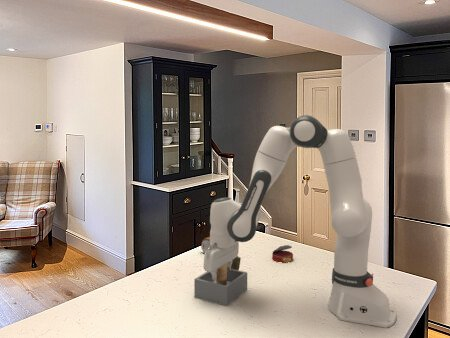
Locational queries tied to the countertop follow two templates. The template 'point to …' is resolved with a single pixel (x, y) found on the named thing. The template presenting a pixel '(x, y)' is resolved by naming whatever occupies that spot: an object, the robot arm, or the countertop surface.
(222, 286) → the socket box
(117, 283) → the countertop surface
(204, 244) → the tin
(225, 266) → the oak peg
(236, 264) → the ornate bronze lampshade
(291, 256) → the canned food
